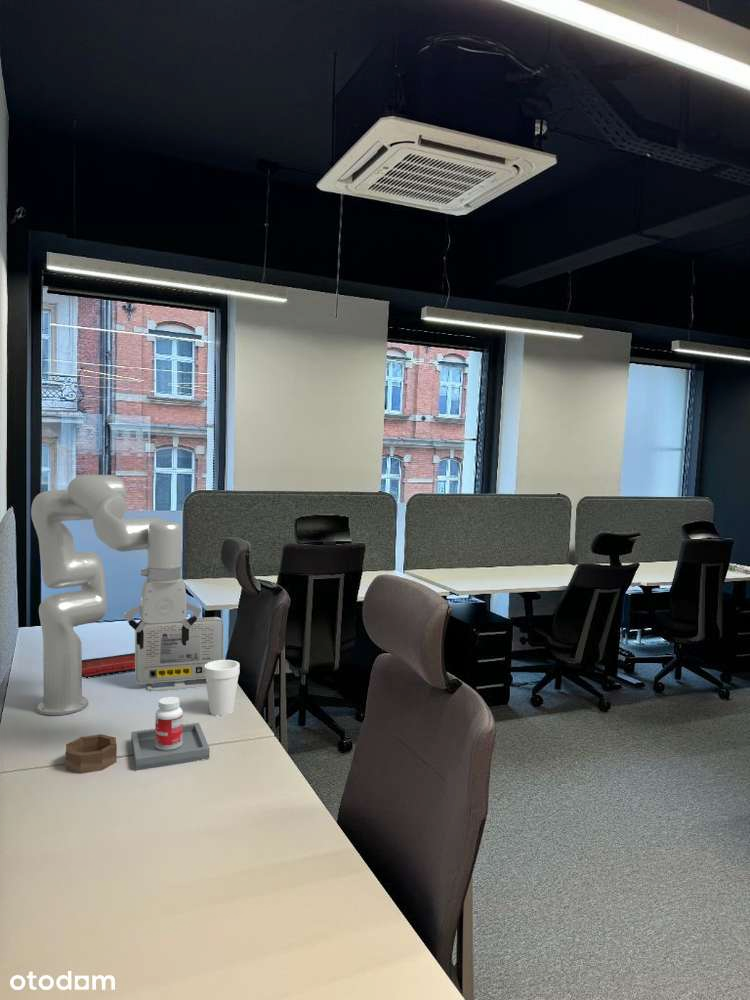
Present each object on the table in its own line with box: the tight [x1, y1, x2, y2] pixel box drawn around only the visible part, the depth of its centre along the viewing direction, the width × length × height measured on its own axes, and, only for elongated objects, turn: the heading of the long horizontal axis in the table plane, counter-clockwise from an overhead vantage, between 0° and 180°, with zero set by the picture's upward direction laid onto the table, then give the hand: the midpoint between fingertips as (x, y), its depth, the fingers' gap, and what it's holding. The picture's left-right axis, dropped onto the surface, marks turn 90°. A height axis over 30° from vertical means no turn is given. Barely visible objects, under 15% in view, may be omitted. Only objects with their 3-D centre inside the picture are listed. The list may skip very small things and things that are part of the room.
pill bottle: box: [154, 696, 184, 751], centre depth 155 cm, size 6×6×11 cm
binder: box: [82, 652, 135, 679], centre depth 216 cm, size 16×2×21 cm
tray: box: [130, 722, 211, 771], centre depth 156 cm, size 16×16×2 cm
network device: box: [134, 616, 224, 692], centre depth 200 cm, size 26×9×20 cm, turn 108°
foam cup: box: [205, 659, 241, 716], centre depth 180 cm, size 10×9×13 cm
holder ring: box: [65, 734, 118, 774], centre depth 149 cm, size 10×10×4 cm
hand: (162, 645), depth 155 cm, fingers open, 9 cm apart
